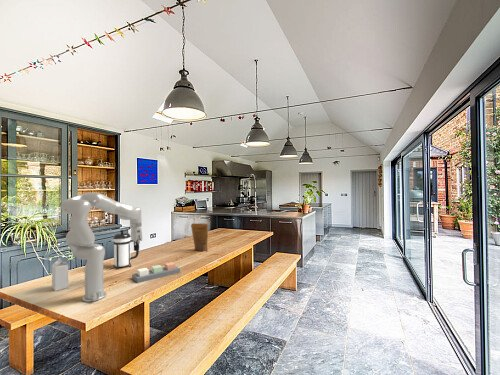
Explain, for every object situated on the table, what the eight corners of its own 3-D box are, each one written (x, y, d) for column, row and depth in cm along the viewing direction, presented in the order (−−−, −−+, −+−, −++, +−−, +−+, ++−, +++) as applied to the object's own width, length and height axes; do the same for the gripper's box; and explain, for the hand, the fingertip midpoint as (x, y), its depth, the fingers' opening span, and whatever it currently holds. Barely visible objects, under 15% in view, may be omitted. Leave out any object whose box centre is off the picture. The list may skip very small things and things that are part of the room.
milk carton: (65, 285, 172) (64, 256, 172) (68, 287, 167) (68, 258, 167) (52, 288, 166) (51, 259, 166) (55, 291, 162) (54, 261, 162)
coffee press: (125, 270, 201) (125, 232, 201) (107, 268, 205) (107, 231, 204) (139, 263, 218) (138, 228, 218) (122, 262, 221) (122, 227, 221)
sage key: (162, 273, 189) (162, 266, 189) (154, 275, 185) (154, 268, 185) (159, 271, 193) (159, 264, 193) (151, 273, 189) (151, 266, 189)
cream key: (148, 276, 182) (148, 269, 182) (140, 278, 178) (139, 271, 178) (145, 274, 187) (145, 267, 187) (137, 276, 183) (137, 269, 183)
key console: (180, 272, 195) (180, 268, 195) (137, 283, 174) (137, 278, 174) (173, 268, 204) (173, 265, 204) (132, 278, 183) (132, 274, 183)
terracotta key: (175, 270, 195) (175, 263, 195) (167, 272, 191) (167, 265, 191) (172, 268, 200) (171, 262, 200) (164, 270, 196) (164, 263, 196)
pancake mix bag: (206, 252, 252) (206, 224, 252) (190, 250, 260) (190, 223, 260) (210, 251, 258) (209, 223, 258) (194, 249, 266) (194, 222, 266)
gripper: (145, 225, 181) (145, 251, 182) (137, 223, 192) (138, 247, 192) (134, 227, 176) (134, 253, 176) (126, 224, 187) (127, 249, 187)
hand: (136, 250), depth 184 cm, fingers closed
